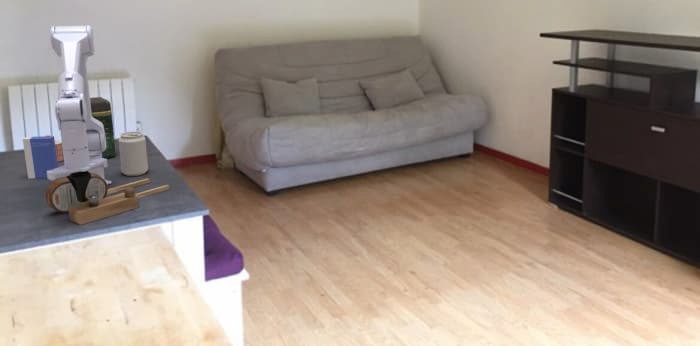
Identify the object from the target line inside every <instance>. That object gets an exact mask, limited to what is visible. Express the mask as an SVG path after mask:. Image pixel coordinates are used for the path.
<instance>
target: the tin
mask: <svg viewBox="0 0 700 346" xmlns="http://www.w3.org/2000/svg"><path fill="white" fill-rule="evenodd" d="M105 180H106V179H105ZM105 180H104V179H103V178H102V177H101V176H99V175H98V174H95V173H91V179H90V181H89V183H88V186H87V189H86V194H87V195H98V200H100V199H103V198H107V196H108V194H107V191H108V189H109V188H108V187H109V186H108V184H107V183H106V181H105ZM45 191H46V192H45V201H46V203H47V205H48V206H49V207H50V208H52V209H53V210H54V211H56V212H59V213H69V209H68V208H71V207H75V206H79V205H82V204H86V203H84V202H83V203H81V202H79V201H78V200H77V196H76V192H75V189H74V188H73V186H72V184H71V183H70V181H69V180H68V179H67V177H60V178H57V179H55V180H53V182H52V183H51V184H50V185H49V186H48V188H47V189H46V190H45Z"/></svg>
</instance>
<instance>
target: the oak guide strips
mask: <svg viewBox="0 0 700 346" xmlns="http://www.w3.org/2000/svg"><path fill="white" fill-rule="evenodd" d="M150 183H151V180H150V178H144V179H141V180H137V181H134V182H130V183H129V182H128V183H127V184H126V183H125V184H122V185H118V186H115V187H111V188H108V191H107V195H110V194H114V193H118V192H122V191H124V189H125V188H128V187H133V188H136V187H139V186H143V185H146V184H150ZM167 190H170V185H168V184H165V185H162V186H159V187H155V188H152V189H148V190H144V191H142V192H138V193H135V195H137V196H138V199H140V198H145V197H147V196H151V195H155V194H157V193H161V192H164V191H167Z"/></svg>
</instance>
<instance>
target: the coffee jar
mask: <svg viewBox="0 0 700 346" xmlns="http://www.w3.org/2000/svg"><path fill="white" fill-rule="evenodd" d="M90 103H91V112H92V117H93V118H95V119H96V120H98V121H100V122H101V123H102V124H103V125H104V131H105V137H106V150H105V151H102V158H104V159H107V160H108V159H109V158H111V157H112V158H113V157H115V156H116V142H115V133H114V123H113V114H112V105H111V102H110V100H108V99H105V98H104V97H102V96H98V97H97V96H96V97H90ZM90 130H94V129H90Z"/></svg>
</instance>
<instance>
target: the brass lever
mask: <svg viewBox="0 0 700 346" xmlns="http://www.w3.org/2000/svg"><path fill="white" fill-rule="evenodd" d="M85 195H86V202H84V203H86V204H89V206H98V205H99V201H98V195H87V194H85Z"/></svg>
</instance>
